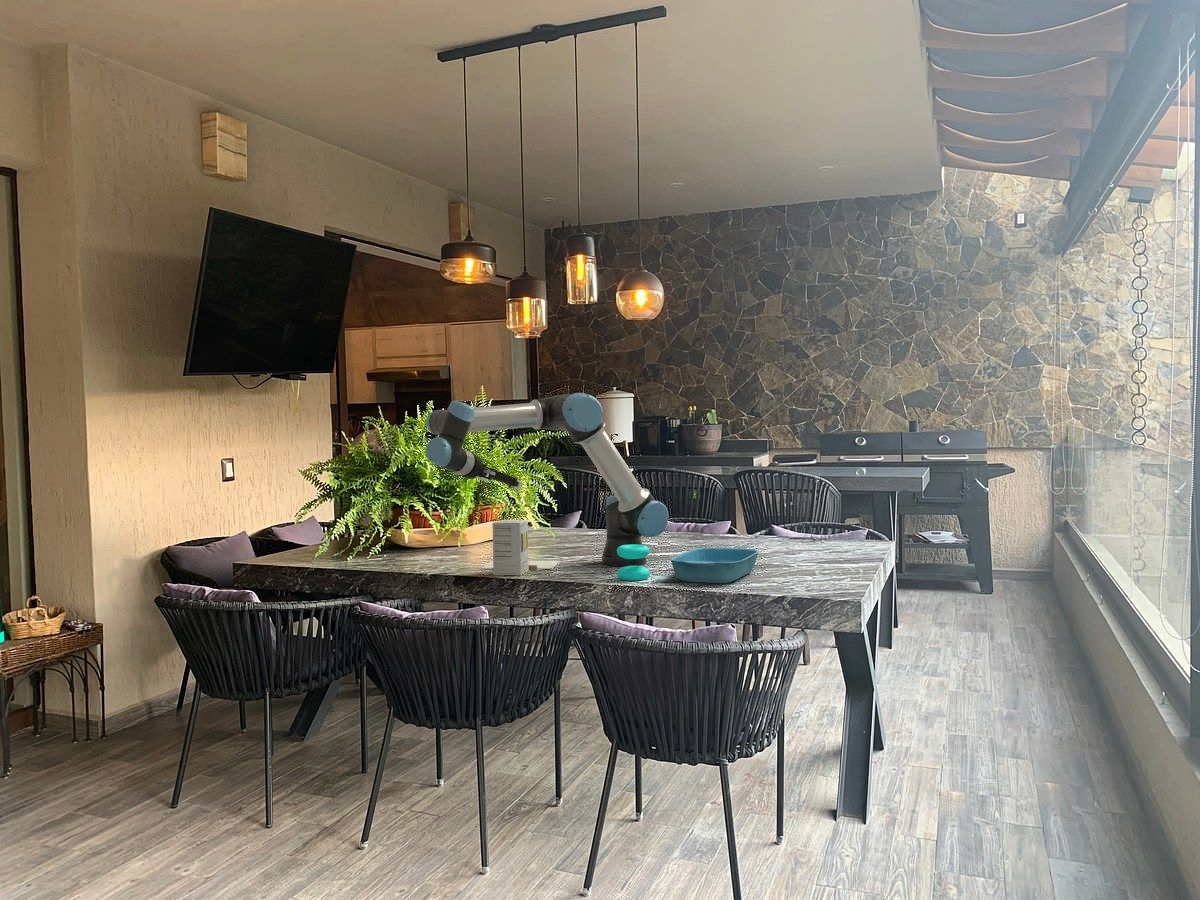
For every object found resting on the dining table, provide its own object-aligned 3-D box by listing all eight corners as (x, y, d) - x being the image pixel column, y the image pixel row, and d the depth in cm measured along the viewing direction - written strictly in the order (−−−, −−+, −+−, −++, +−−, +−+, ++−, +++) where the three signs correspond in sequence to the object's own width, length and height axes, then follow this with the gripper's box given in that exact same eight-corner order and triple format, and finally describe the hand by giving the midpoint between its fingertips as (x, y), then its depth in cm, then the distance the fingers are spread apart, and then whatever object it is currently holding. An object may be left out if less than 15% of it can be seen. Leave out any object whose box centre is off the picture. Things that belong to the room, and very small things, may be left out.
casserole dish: (699, 565, 311) (698, 544, 311) (765, 568, 303) (765, 546, 302) (661, 584, 278) (661, 560, 277) (734, 588, 269) (734, 564, 269)
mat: (560, 562, 322) (560, 557, 322) (551, 570, 305) (551, 565, 305) (491, 562, 325) (491, 557, 325) (479, 570, 308) (479, 565, 308)
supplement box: (520, 576, 295) (519, 522, 294) (492, 575, 297) (491, 522, 296) (529, 571, 304) (528, 519, 304) (501, 570, 306) (500, 519, 305)
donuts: (644, 548, 281) (612, 547, 284) (645, 582, 281) (613, 580, 284) (653, 544, 290) (622, 543, 293) (653, 576, 291) (622, 575, 294)
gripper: (429, 467, 285) (469, 485, 303) (493, 484, 273) (531, 502, 291) (438, 444, 287) (477, 463, 304) (502, 460, 274) (539, 479, 292)
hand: (503, 482), depth 298 cm, fingers open, 13 cm apart
